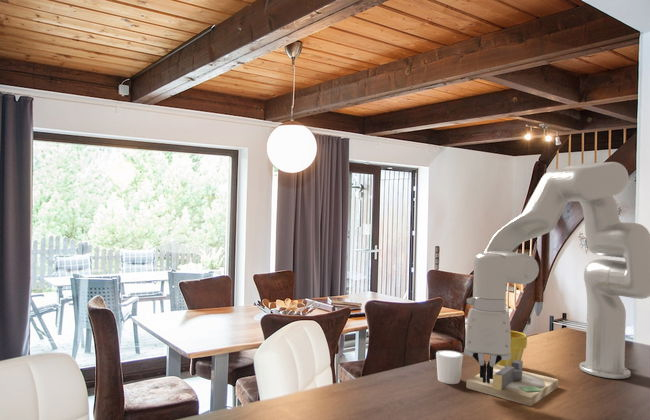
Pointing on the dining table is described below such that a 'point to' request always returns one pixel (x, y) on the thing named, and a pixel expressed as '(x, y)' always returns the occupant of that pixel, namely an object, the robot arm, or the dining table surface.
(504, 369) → the grey dial pointer
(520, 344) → the plant pot
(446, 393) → the dining table surface
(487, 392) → the tuner board
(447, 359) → the white cup
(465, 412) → the dining table surface
